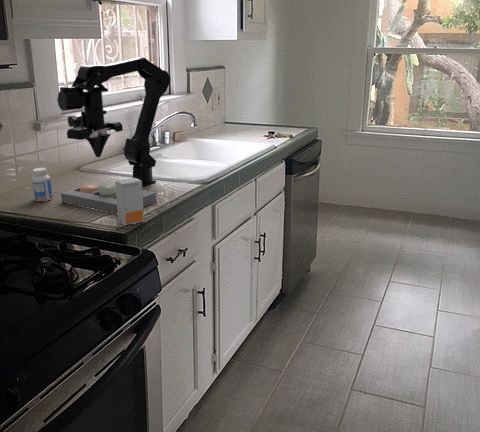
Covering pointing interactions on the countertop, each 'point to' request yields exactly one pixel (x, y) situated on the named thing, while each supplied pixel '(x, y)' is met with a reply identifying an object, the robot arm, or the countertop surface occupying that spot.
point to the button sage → (107, 190)
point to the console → (100, 199)
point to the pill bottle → (41, 185)
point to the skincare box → (129, 201)
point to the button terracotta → (89, 188)
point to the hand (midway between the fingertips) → (98, 157)
